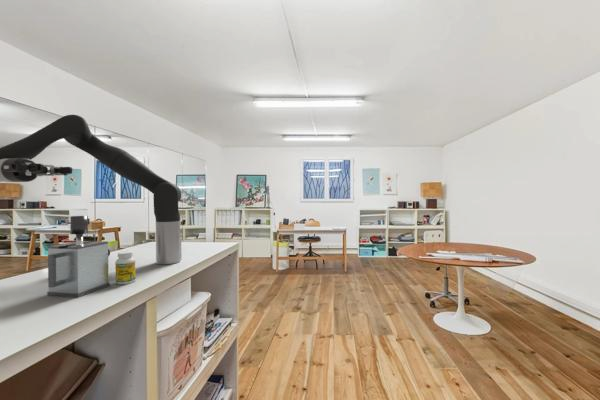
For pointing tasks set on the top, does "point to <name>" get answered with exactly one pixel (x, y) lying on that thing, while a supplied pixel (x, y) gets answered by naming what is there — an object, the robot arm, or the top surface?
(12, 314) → the top surface
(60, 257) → the grey box
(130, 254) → the supplement bottle
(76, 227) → the dark grey knob handle
